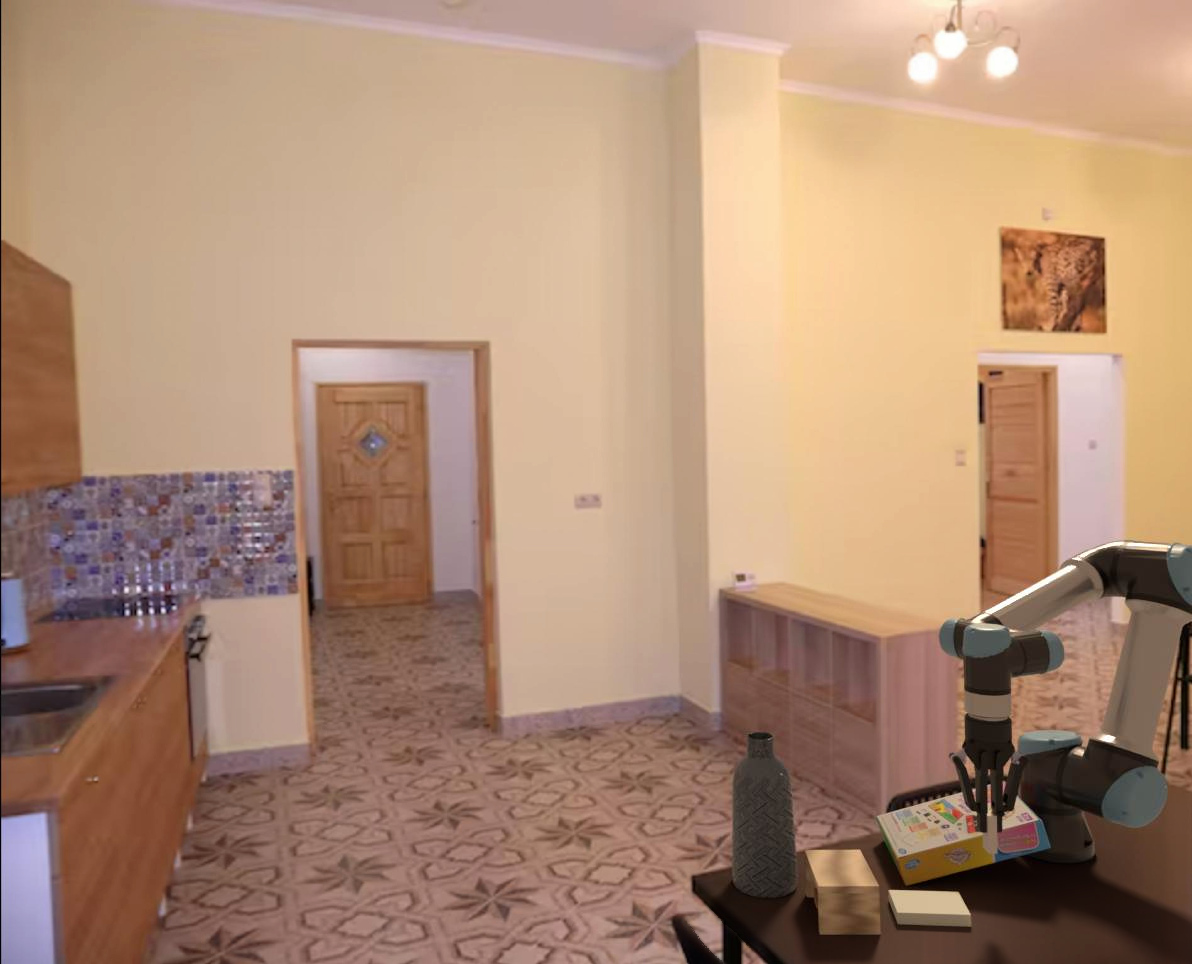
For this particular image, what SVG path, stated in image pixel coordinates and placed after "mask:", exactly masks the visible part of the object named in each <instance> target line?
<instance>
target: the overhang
mask: <svg viewBox="0 0 1192 964" xmlns="http://www.w3.org/2000/svg"><path fill="white" fill-rule="evenodd" d="M804 867H805V868H804V870H805V871H804V873H805V894H806V897H807V898H813V899H814V901H813V902H814V904H815V907H816V909H817V913H818V914H817V915H818V916H817V917H818V919H817V920H818V933H819V935H824V936H825V935H833V936H834V935H845V936H847V935H859V936H861V935H867V936H868V935H869V936H872V935H881V934H882V933H881V930H882V929H881V901H880V900H881V899H880V885H879V883H878V881H877V879H876V877H875V875H874V874H873V871H872V869H871V868H870V865H869V864H868V862H867V861H866V858H865V857H864V855H863V853H862V851H861V849H804Z"/></svg>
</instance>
